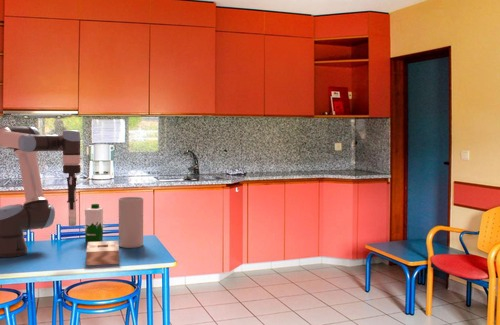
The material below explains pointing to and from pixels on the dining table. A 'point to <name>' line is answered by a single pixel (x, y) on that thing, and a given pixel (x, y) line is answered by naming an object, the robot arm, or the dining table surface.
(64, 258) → the dining table surface
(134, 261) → the dining table surface
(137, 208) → the cylinder vase
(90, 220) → the milk carton
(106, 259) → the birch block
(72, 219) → the beige wooden bar
